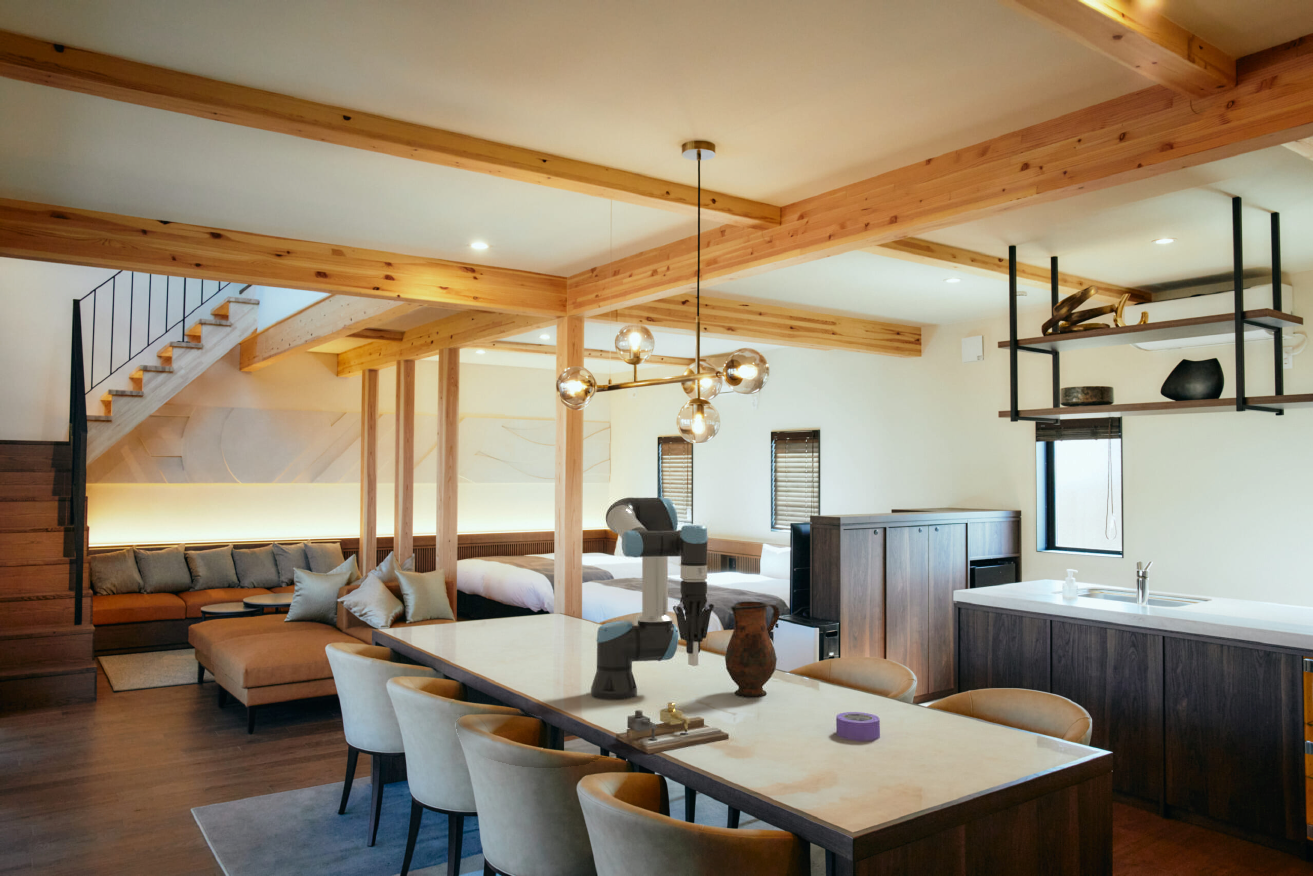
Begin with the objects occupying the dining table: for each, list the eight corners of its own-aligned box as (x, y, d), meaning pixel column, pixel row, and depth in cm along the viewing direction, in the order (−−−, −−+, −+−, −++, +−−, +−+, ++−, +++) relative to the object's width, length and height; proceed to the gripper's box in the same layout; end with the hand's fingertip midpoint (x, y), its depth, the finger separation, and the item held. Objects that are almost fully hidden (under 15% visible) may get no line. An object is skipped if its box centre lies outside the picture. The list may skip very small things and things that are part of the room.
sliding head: (660, 724, 234) (660, 702, 235) (671, 722, 237) (672, 700, 237) (682, 733, 226) (682, 710, 226) (694, 731, 228) (694, 708, 228)
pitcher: (714, 693, 283) (715, 602, 284) (760, 684, 295) (760, 597, 297) (749, 703, 269) (749, 607, 271) (795, 694, 282) (795, 603, 284)
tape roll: (827, 731, 239) (827, 713, 239) (862, 727, 243) (862, 709, 243) (853, 743, 228) (853, 724, 228) (888, 739, 232) (888, 720, 233)
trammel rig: (616, 738, 229) (616, 709, 230) (693, 724, 244) (693, 697, 244) (648, 754, 216) (648, 722, 217) (728, 738, 230) (728, 709, 231)
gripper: (682, 582, 233) (682, 669, 232) (720, 580, 240) (719, 664, 239) (667, 580, 239) (666, 665, 238) (704, 578, 247) (703, 660, 245)
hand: (693, 664), depth 238 cm, fingers closed
